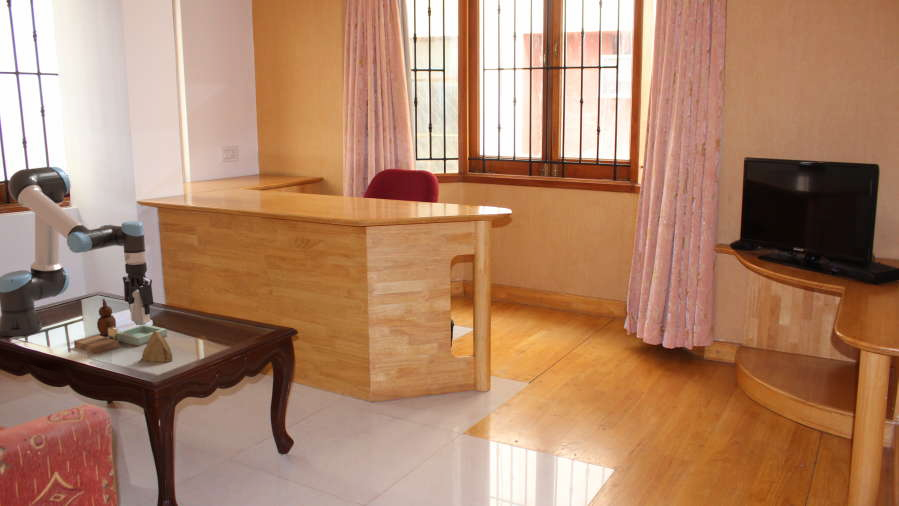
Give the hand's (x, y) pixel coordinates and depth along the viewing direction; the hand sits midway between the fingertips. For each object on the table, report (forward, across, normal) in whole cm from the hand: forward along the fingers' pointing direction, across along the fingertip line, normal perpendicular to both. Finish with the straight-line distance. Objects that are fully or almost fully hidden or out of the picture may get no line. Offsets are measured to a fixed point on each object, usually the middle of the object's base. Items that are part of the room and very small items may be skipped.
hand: (140, 321), depth 292 cm
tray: (+7, 0, 0) cm, 7 cm away
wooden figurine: (+7, -16, -3) cm, 18 cm away
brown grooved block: (+7, -6, -16) cm, 18 cm away
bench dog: (+7, -5, -9) cm, 12 cm away
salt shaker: (+1, 0, 0) cm, 1 cm away
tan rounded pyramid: (+7, +25, -14) cm, 30 cm away
